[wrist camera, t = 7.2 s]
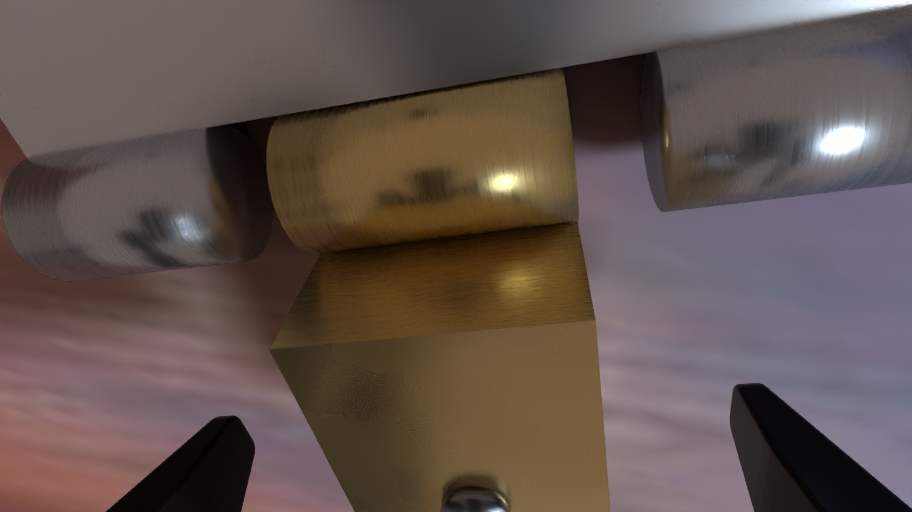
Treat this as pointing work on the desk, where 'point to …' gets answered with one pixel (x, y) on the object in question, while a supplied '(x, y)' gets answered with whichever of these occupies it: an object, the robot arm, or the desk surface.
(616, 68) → the desk surface
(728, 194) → the steel leaf
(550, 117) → the brass leaf
